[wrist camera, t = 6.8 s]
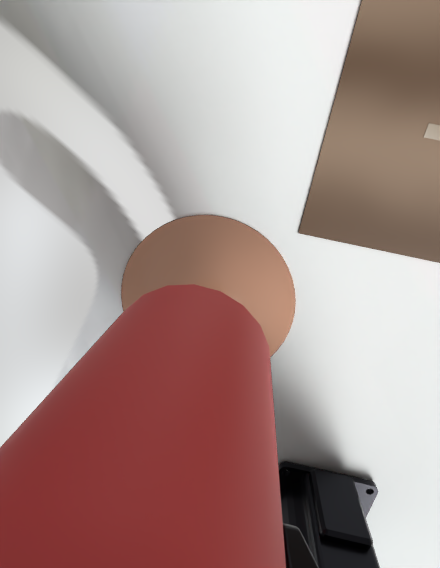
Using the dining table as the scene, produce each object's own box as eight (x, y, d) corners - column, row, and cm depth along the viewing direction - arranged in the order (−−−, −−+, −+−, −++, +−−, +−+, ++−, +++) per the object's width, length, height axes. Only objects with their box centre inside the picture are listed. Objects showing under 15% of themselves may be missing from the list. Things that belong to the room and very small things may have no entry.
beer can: (88, 354, 15) (-377, 878, 4) (180, 245, 13) (-241, 679, 2) (202, 439, 16) (81, 1062, 5) (303, 349, 14) (486, 1049, 3)
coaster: (271, 388, 22) (271, 394, 21) (117, 354, 22) (114, 359, 22) (315, 234, 19) (317, 237, 18) (134, 196, 19) (130, 198, 18)
